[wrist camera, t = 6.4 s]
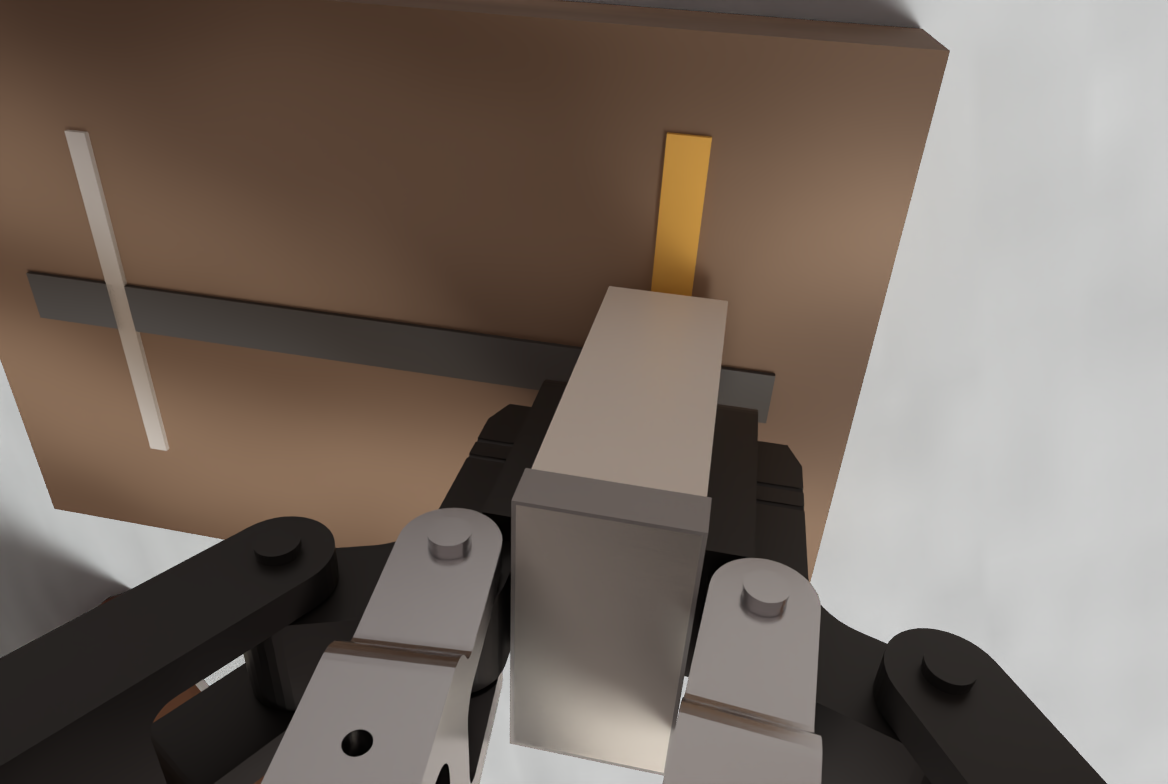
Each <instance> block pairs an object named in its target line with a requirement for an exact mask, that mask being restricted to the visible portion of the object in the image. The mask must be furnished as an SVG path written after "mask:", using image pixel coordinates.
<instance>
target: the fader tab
mask: <svg viewBox="0 0 1168 784" xmlns="http://www.w3.org/2000/svg"><path fill="white" fill-rule="evenodd" d="M727 307H728V301H724V300H716V299H708V298H700V297H692V296H684V295H676V294H668V293H661V292H653V291H645V290H637V289H629V288H621V287H613V286H609V287H608V290H607V292H606V295H605V297H604V299H603V302H602V304H601V306H600V309H599V311H598V313H597V316H596V318H595V320H594V323H593V325H592V327H591V330H590V332H589V334H588V337H587V339H586V341H585V344H584V346H583V349H582V351H581V353H580V356H579V358H578V360H577V363H576V365H575V367H574V370H573V372H572V374H571V377H570V379H569V381H568V384H567V386H566V388H565V391H564V393H563V395H562V398H561V400H560V403H559V405H558V407H557V410H556V412H555V414H554V417H553V419H552V421H551V424H550V426H549V428H548V431H547V433H546V435H545V438H544V440H543V442H542V445H541V447H540V449H539V452H538V454H537V456H536V459H535V461H534V464H533V466H532V468H531V469H529V468H525V470H524V473H523V475H522V477H521V480H520V482H519V484H518V486H517V489H516V491H515V493H514V496H513V498H512V500H511V644H510V744H515V745H520V746H525V747H530V748H534V749H539V750H544V751H549V752H554V753H558V754H563V755H568V756H573V757H578V758H582V759H587V760H592V761H597V762H602V763H606V764H611V765H616V766H621V767H625V768H630V769H635V770H640V771H645V772H649V773H654V774H659V775H665V771H666V766H667V762H668V758H669V753H670V749H671V744H672V740H673V736H674V731H675V727H676V721H677V715H678V709H679V703H680V697H681V692H682V686H683V680H684V674H685V668H686V662H687V656H688V650H689V644H690V638H691V632H692V626H693V620H694V614H695V608H696V603H697V597H698V591H699V585H700V579H701V573H702V567H703V561H704V555H705V549H706V543H707V537H708V530H709V520H710V510H711V500H712V498H711V497H707V492H708V483H709V473H710V464H711V455H712V446H713V436H714V427H715V418H716V409H717V399H718V390H719V381H720V372H721V362H722V353H723V344H724V335H725V325H726V316H727Z"/></svg>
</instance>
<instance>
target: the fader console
mask: <svg viewBox="0 0 1168 784" xmlns="http://www.w3.org/2000/svg"><path fill="white" fill-rule="evenodd" d="M949 52H950V51H949V50H948V49H947V48H946V47H944V46H943V45H942V44H941V43H939V42H938V41H937V40H936V39H934V38H933V37H932V36H931V35H929V34H928V33H927V32H926V31H924V30H923V29H920V28H907V27H894V26H881V25H869V24H856V23H843V22H830V21H817V20H804V19H791V18H779V17H766V16H753V15H740V14H727V13H714V12H702V11H689V10H676V9H663V8H650V7H637V6H624V5H612V4H599V3H586V2H573V1H560V0H0V359H1V362H2V365H3V368H4V370H5V373H6V376H7V379H8V382H9V384H10V387H11V390H12V393H13V395H14V398H15V401H16V404H17V406H18V409H19V412H20V415H21V417H22V420H23V423H24V426H25V429H26V431H27V434H28V437H29V440H30V442H31V445H32V448H33V451H34V453H35V456H36V459H37V462H38V464H39V467H40V470H41V473H42V475H43V478H44V481H45V484H46V487H47V489H48V492H49V495H50V498H51V500H52V503H53V506H54V509H60V510H65V511H71V512H76V513H82V514H87V515H93V516H98V517H104V518H109V519H115V520H120V521H126V522H131V523H137V524H142V525H148V526H153V527H159V528H164V529H170V530H175V531H181V532H186V533H192V534H197V535H203V536H208V537H214V538H219V539H227V538H229V537H231V536H233V535H235V534H237V533H238V532H240V531H242V530H244V529H246V528H248V527H250V526H252V525H254V524H256V523H259V522H262V521H265V520H268V519H273V518H277V517H285V516H297V517H305V518H310V519H313V520H316V521H318V522H320V523H322V524H323V525H325V526H326V527H327V528H328V529H329V530H330V531H331V533H332V534H333V537H334V540H335V546H336V548H340V547H355V546H370V545H380V544H387V543H391V542H395V541H396V540H397V538H398V536H399V534H400V532H401V531H402V529H403V528H404V527H405V526H406V525H407V524H408V523H409V522H410V521H412V520H413V519H415V518H416V517H418V516H420V515H422V514H424V513H427V512H430V511H433V510H437V509H439V508H440V506H441V504H442V502H443V500H444V498H445V497H446V495H447V493H448V491H449V489H450V487H451V486H452V484H453V482H454V480H455V478H456V476H457V475H458V473H459V471H460V469H461V467H462V466H463V464H464V462H465V460H466V458H467V457H469V453H470V451H471V449H472V447H473V445H474V444H475V442H477V440H478V436H479V435H480V433H481V431H482V429H483V427H484V425H485V424H486V422H487V420H488V418H490V417H491V416H493V415H494V414H496V413H497V412H498V411H500V410H501V409H503V408H504V407H506V406H507V405H509V404H515V405H521V406H528V407H532V405H533V402H534V400H535V398H536V396H537V394H538V392H539V390H540V388H541V386H542V384H543V382H544V380H545V379H549V380H556V381H563V382H568V381H569V379H570V377H571V374H572V372H573V370H574V367H575V365H576V363H577V360H578V358H579V356H580V353H581V351H582V349H583V346H584V344H585V341H586V339H587V337H588V334H589V332H590V330H591V327H592V325H593V323H594V320H595V318H596V316H597V313H598V311H599V309H600V306H601V304H602V302H603V299H604V297H605V295H606V292H607V290H608V287H609V286H613V287H621V288H629V289H637V290H645V291H653V292H661V293H668V294H676V295H684V296H692V297H700V298H708V299H716V300H724V301H728V307H727V316H726V325H725V335H724V344H723V353H722V362H721V372H720V381H719V390H718V399H717V404H722V405H729V406H736V407H743V408H750V409H757V410H758V441H763V442H769V443H776V444H783V445H788V447H789V448H790V450H791V451H792V452H793V454H794V455H795V457H796V458H797V460H798V461H799V463H800V464H801V466H802V472H803V493H804V511H805V526H806V544H807V561H808V578H809V582H810V581H811V577H812V573H813V569H814V566H815V562H816V558H817V554H818V550H819V547H820V543H821V539H822V535H823V531H824V527H825V524H826V520H827V516H828V512H829V508H830V505H831V501H832V497H833V493H834V489H835V486H836V482H837V478H838V474H839V470H840V467H841V463H842V459H843V455H844V451H845V448H846V444H847V440H848V436H849V432H850V429H851V425H852V421H853V417H854V413H855V410H856V406H857V402H858V398H859V394H860V391H861V387H862V383H863V379H864V375H865V372H866V368H867V364H868V360H869V356H870V353H871V349H872V345H873V341H874V337H875V334H876V330H877V326H878V322H879V318H880V315H881V311H882V307H883V303H884V299H885V296H886V292H887V288H888V284H889V280H890V276H891V273H892V269H893V265H894V261H895V257H896V254H897V250H898V246H899V242H900V238H901V235H902V231H903V227H904V223H905V219H906V216H907V212H908V208H909V204H910V200H911V197H912V193H913V189H914V185H915V181H916V178H917V174H918V170H919V166H920V162H921V159H922V155H923V151H924V147H925V143H926V140H927V136H928V132H929V128H930V124H931V121H932V117H933V113H934V109H935V105H936V102H937V98H938V94H939V90H940V86H941V83H942V79H943V75H944V71H945V67H946V64H947V60H948V56H949Z"/></svg>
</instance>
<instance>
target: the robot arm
mask: <svg viewBox="0 0 1168 784" xmlns="http://www.w3.org/2000/svg"><path fill="white" fill-rule="evenodd" d="M567 384H568V382H563V381H556V380H549V379H545V380H544V382H543V384H542V386H541V388H540V390H539V392H538V394H537V396H536V398H535V400H534V402H533V405H532V407H528V406H521V405H515V404H509V405H507V406H506V407H504V408H503V409H501V410H500V411H498V412H497V413H496V414H494V415H493V416H491V417H490V418H488V420H487V422H486V424H485V425H484V427H483V429H482V431H481V433H480V435H479V436H478V440H477V442H475V444H474V445H473V447H472V449H471V451H470V453H469V457H467V458H466V460H465V462H464V464H463V466H462V467H461V469H460V471H459V473H458V475H457V476H456V478H455V480H454V482H453V484H452V486H451V487H450V489H449V491H448V493H447V495H446V497H445V498H444V500H443V502H442V504H441V506H440V508H439V509H437V510H433V511H430V512H427V513H424V514H422V515H420V516H418V517H416V518H415V519H413V520H412V521H410V522H409V523H408V524H407V525H406V526H405V527H404V528H403V529H402V531H401V532H400V534H399V536H398V538H397V540H396V541H395V542H391V543H387V544H380V545H370V546H355V547H340V548H336V546H335V540H334V537H333V534H332V533H331V531H330V530H329V529H328V528H327V527H326V526H325V525H323V524H322V523H320V522H318V521H316V520H313V519H310V518H305V517H297V516H285V517H277V518H273V519H268V520H265V521H262V522H259V523H256V524H254V525H252V526H250V527H248V528H246V529H244V530H242V531H240V532H238V533H237V534H235V535H233V536H231V537H229V538H227V539H225V540H223V541H221V542H220V543H218V544H216V545H214V546H212V547H210V548H208V549H206V550H204V551H202V552H201V553H199V554H197V555H195V556H193V557H191V558H189V559H187V560H185V561H184V562H182V563H180V564H178V565H176V566H174V567H172V568H170V569H168V570H167V571H165V572H163V573H161V574H159V575H157V576H155V577H153V578H151V579H150V580H148V581H146V582H144V583H142V584H140V585H138V586H136V587H134V588H132V589H131V590H129V591H127V592H125V593H123V594H121V595H119V596H117V597H115V598H114V599H112V600H110V601H108V602H106V603H104V604H102V605H100V606H98V607H97V608H95V609H93V610H91V611H89V612H87V613H85V614H83V615H81V616H80V617H78V618H76V619H74V620H72V621H70V622H68V623H66V624H64V625H62V626H61V627H59V628H57V629H55V630H53V631H51V632H49V633H47V634H45V635H44V636H42V637H40V638H38V639H36V640H34V641H32V642H30V643H28V644H27V645H25V646H23V647H21V648H19V649H17V650H15V651H13V652H11V653H9V654H8V655H6V656H4V657H2V658H0V784H254V783H255V782H256V781H258V780H259V779H260V778H262V777H263V776H264V775H265V776H264V778H263V780H262V783H261V784H480V780H481V775H482V771H483V767H484V762H485V758H486V754H487V749H488V745H489V740H490V736H491V732H492V727H493V723H494V719H495V714H496V710H497V706H498V701H499V697H500V693H501V688H502V681H503V669H504V667H505V664H506V661H507V659H508V656H509V653H510V644H511V500H512V498H513V496H514V493H515V491H516V489H517V486H518V484H519V482H520V480H521V477H522V475H523V473H524V470H525V468H529V469H531V468H532V466H533V464H534V461H535V459H536V456H537V454H538V452H539V449H540V447H541V445H542V442H543V440H544V438H545V435H546V433H547V431H548V428H549V426H550V424H551V421H552V419H553V417H554V414H555V412H556V410H557V407H558V405H559V403H560V400H561V398H562V395H563V393H564V391H565V388H566V386H567ZM707 497H711V498H712V500H711V510H710V520H709V530H708V537H707V543H706V549H705V555H704V561H703V567H702V573H701V579H700V585H699V591H698V597H697V603H696V608H695V614H694V620H693V626H692V632H691V638H690V644H689V650H688V656H687V662H686V668H685V674H684V676H687V677H689V678H688V682H687V687H686V691H685V695H684V697H683V698H682V701H681V705H680V709H679V714H678V718H677V722H676V727H675V731H674V736H673V740H672V744H671V749H670V753H669V758H668V762H667V766H666V771H665V775H664V780H663V784H1107V783H1106V782H1105V781H1104V780H1103V779H1102V778H1101V777H1100V775H1099V774H1098V773H1097V772H1096V771H1095V770H1094V769H1093V768H1092V767H1091V766H1090V765H1089V763H1088V762H1087V761H1086V760H1085V759H1084V758H1083V757H1082V756H1081V755H1080V754H1079V753H1078V751H1077V750H1076V749H1075V748H1074V747H1073V746H1072V745H1071V744H1070V743H1069V742H1068V740H1067V739H1066V738H1065V737H1064V736H1063V735H1062V734H1061V733H1060V732H1059V731H1058V730H1057V728H1056V727H1055V726H1054V725H1053V724H1052V723H1051V722H1050V721H1049V720H1048V719H1047V718H1046V716H1045V715H1044V714H1043V713H1042V712H1041V711H1040V710H1039V709H1038V708H1037V707H1036V705H1035V704H1034V703H1033V702H1032V701H1031V700H1030V699H1029V698H1028V697H1027V696H1026V695H1025V693H1024V692H1023V691H1022V690H1021V689H1020V688H1019V687H1018V686H1017V685H1016V684H1015V682H1014V681H1013V680H1012V679H1011V678H1010V677H1009V676H1008V675H1007V674H1006V673H1005V672H1004V670H1003V669H1002V668H1001V667H1000V666H999V665H998V664H997V663H996V662H995V661H994V660H993V659H992V658H991V657H990V656H989V655H988V654H987V653H986V652H984V651H983V650H982V649H980V648H979V647H977V646H976V645H974V644H973V643H971V642H969V641H967V640H965V639H963V638H961V637H959V636H957V635H954V634H951V633H949V632H945V631H941V630H936V629H928V628H917V629H910V630H907V631H904V632H901V633H899V634H897V635H896V636H894V637H893V638H892V639H891V640H890V641H889V643H888V644H886V643H884V642H882V641H879V640H877V639H875V638H872V637H870V636H868V635H865V634H863V633H861V632H858V631H856V630H854V629H852V628H850V627H848V626H847V625H845V624H843V623H842V622H840V621H838V620H837V619H836V618H835V617H833V616H832V615H831V614H830V613H829V612H827V611H826V610H825V609H824V608H823V607H822V605H821V604H820V600H819V596H818V594H817V592H816V590H815V589H814V587H813V586H812V585H811V583H810V582H809V578H808V561H807V544H806V526H805V511H804V493H803V472H802V466H801V464H800V463H799V461H798V460H797V458H796V457H795V455H794V454H793V452H792V451H791V450H790V448H789V447H788V445H783V444H776V443H769V442H763V441H758V410H757V409H750V408H743V407H736V406H729V405H722V404H717V409H716V418H715V427H714V436H713V446H712V455H711V464H710V473H709V483H708V492H707ZM242 654H244V658H245V662H246V663H245V664H243V665H241V666H240V667H238V668H237V669H235V670H234V671H232V672H231V673H229V674H228V675H226V676H224V677H223V678H221V679H220V680H218V681H217V682H215V683H214V684H212V685H211V686H209V687H208V688H206V689H204V690H203V691H201V692H200V693H198V694H197V695H195V696H194V697H192V698H191V699H189V700H188V701H186V702H184V703H183V704H181V705H180V706H178V707H177V708H175V709H174V710H172V711H171V712H169V713H167V714H166V715H164V716H163V717H161V718H160V719H158V720H157V721H155V722H154V723H153V721H154V719H155V718H156V716H157V715H158V713H159V712H160V711H161V709H162V708H163V707H164V706H165V705H166V704H167V703H169V702H170V701H171V700H172V699H174V698H175V697H177V696H178V695H180V694H181V693H183V692H184V691H186V690H187V689H189V688H191V687H192V686H194V685H195V684H197V683H198V682H200V681H202V680H203V679H205V678H206V677H208V676H209V675H211V674H212V673H214V672H216V671H217V670H219V669H220V668H222V667H223V666H225V665H227V664H228V663H230V662H231V661H233V660H234V659H236V658H237V657H239V656H241V655H242Z"/></svg>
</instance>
